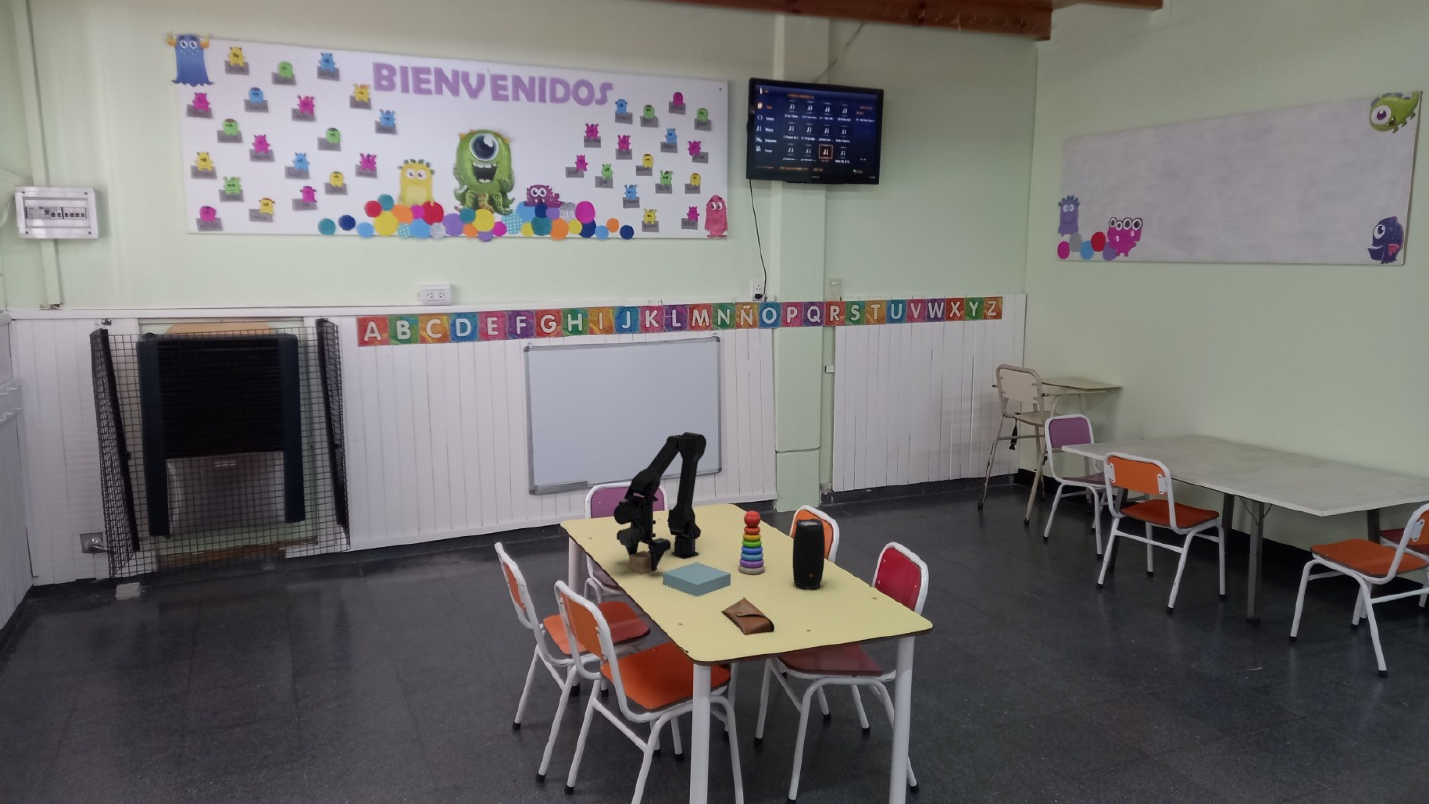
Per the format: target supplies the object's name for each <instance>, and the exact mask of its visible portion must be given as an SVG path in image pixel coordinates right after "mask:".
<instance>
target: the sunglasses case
mask: <svg viewBox="0 0 1429 804" xmlns="http://www.w3.org/2000/svg"><path fill="white" fill-rule="evenodd" d="M721 612H722V613H723V615H724V616H725V615H726V616H725V617H726V618H727V619H729V620H730V621H732V623H733V624H734V625H735V626H737V628H738V627H739V628H740V629H741V632H742V634H743V635H744V636H749V635H758V634H765V633H774V631H775V625H774V623H773V621H772V620H771V618H769V617H767V616H766V615H765V614H764V612H762V611H761V610H760V609H759V608H758V607H756V606H755V605H754V604H753V603H752V602H750V601H749V600H748V599H746V597H745V596H743V598H742V599H740V600H738V601H737V602H736V603H733V604H731V605H730V606H728V607H726V608H724V609H722V611H720V613H721ZM722 613H721V614H722ZM739 628H738V629H739ZM740 629H739V630H740Z"/></svg>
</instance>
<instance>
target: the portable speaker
mask: <svg viewBox="0 0 1429 804" xmlns="http://www.w3.org/2000/svg"><path fill="white" fill-rule="evenodd" d="M795 525H796V526H795V531H794V535H793V540H792V542H793V543H792V575H793V584H794V587H795V588H797V589H800V590H804V589H805V588H813V589H814V590H817V589H820V588H821V582H822V579H823V574H824V568H825V553H826V537H825V530H824V529H825V528H824V523H823V521H822V520H821V519H818V518H810V519H801V518H799V519H797V520H796V522H795Z"/></svg>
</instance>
